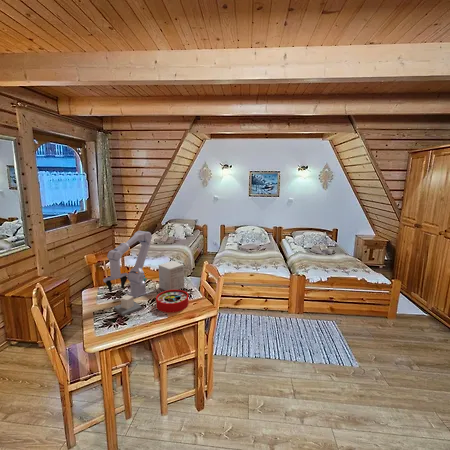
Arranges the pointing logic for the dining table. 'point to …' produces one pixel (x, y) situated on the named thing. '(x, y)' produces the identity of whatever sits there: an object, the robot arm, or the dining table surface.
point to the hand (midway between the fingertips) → (116, 289)
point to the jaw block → (127, 302)
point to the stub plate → (127, 311)
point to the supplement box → (171, 276)
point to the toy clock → (172, 301)
